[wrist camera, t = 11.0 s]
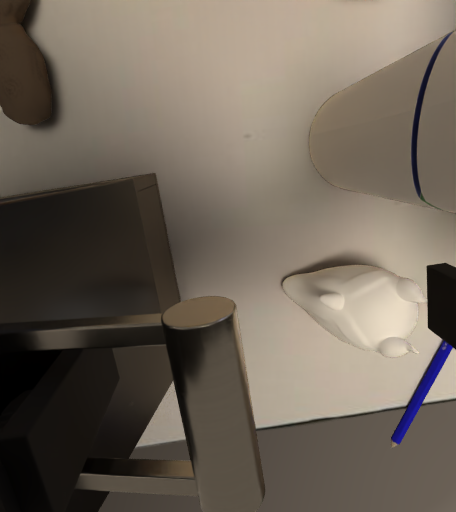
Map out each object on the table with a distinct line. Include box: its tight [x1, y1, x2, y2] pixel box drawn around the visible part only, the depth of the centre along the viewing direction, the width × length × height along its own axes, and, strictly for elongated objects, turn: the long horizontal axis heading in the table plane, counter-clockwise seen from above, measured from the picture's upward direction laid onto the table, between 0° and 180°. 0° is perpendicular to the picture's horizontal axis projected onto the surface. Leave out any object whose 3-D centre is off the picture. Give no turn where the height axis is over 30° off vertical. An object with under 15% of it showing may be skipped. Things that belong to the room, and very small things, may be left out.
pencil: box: [391, 341, 453, 448], centre depth 38 cm, size 17×1×1 cm
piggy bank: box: [282, 265, 427, 358], centre depth 32 cm, size 7×8×12 cm
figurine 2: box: [0, 0, 52, 125], centre depth 28 cm, size 6×4×12 cm
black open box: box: [0, 173, 181, 313], centre depth 29 cm, size 13×13×11 cm
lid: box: [0, 179, 265, 512], centre depth 16 cm, size 14×13×8 cm
